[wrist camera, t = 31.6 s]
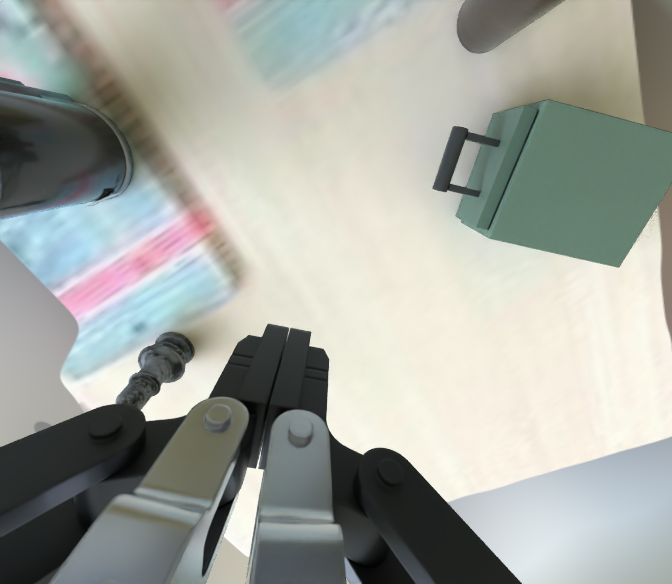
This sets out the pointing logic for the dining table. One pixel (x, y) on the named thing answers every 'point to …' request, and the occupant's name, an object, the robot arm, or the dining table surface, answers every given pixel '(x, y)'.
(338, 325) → the dining table surface
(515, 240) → the cabinet
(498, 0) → the pepper mill
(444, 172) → the drawer
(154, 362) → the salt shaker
